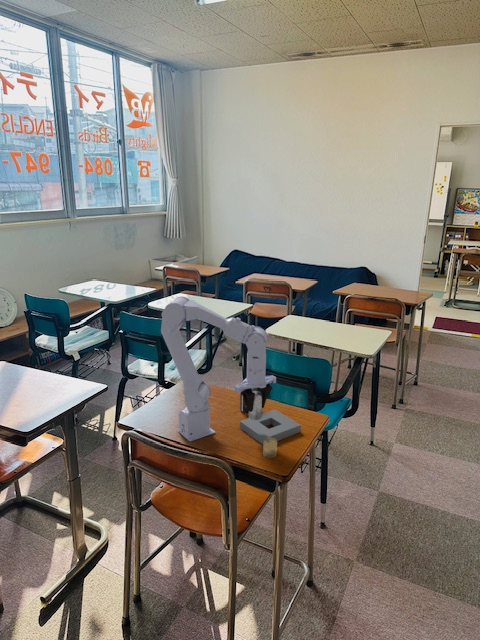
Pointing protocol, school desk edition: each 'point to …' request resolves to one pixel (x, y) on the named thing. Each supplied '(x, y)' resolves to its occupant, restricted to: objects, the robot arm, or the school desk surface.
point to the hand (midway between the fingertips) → (255, 408)
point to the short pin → (270, 447)
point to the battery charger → (242, 402)
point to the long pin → (256, 406)
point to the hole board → (280, 431)
